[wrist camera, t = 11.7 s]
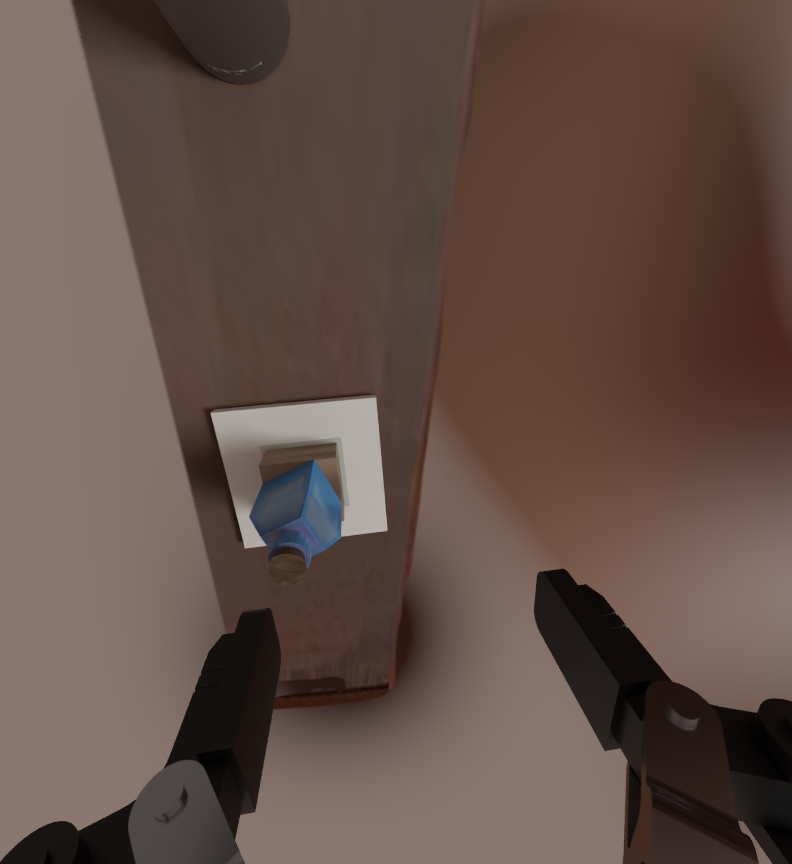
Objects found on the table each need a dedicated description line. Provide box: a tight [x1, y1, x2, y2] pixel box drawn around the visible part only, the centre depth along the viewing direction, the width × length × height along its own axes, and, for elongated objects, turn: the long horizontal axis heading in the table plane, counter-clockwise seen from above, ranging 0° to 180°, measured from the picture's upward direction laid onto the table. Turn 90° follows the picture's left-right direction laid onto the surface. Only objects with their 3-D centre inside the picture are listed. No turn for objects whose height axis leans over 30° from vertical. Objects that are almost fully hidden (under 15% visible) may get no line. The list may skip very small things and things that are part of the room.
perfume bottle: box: [249, 459, 342, 586], centre depth 36 cm, size 6×6×12 cm
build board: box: [211, 395, 387, 548], centre depth 46 cm, size 18×18×1 cm
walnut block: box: [259, 443, 345, 521], centre depth 44 cm, size 8×8×4 cm
